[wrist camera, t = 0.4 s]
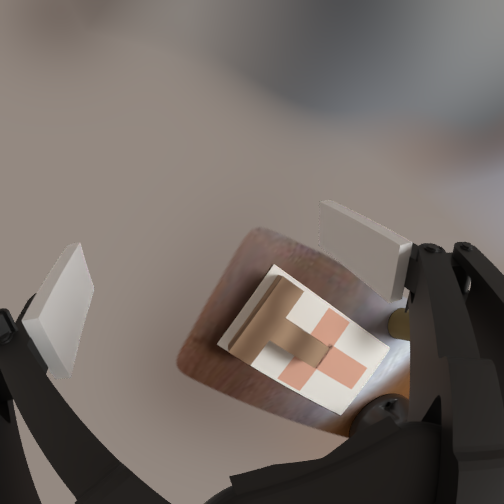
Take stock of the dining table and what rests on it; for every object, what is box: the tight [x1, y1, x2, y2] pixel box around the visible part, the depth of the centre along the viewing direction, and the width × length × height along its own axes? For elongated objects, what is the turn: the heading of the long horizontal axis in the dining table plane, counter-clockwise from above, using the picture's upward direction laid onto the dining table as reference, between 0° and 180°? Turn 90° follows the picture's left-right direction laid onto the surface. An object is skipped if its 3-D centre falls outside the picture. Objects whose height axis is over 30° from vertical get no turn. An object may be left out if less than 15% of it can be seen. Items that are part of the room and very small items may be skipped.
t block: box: [228, 275, 329, 368], centre depth 45 cm, size 13×14×4 cm
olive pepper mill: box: [388, 308, 410, 341], centre depth 44 cm, size 6×6×11 cm
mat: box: [217, 264, 390, 415], centre depth 48 cm, size 28×16×1 cm, turn 55°
